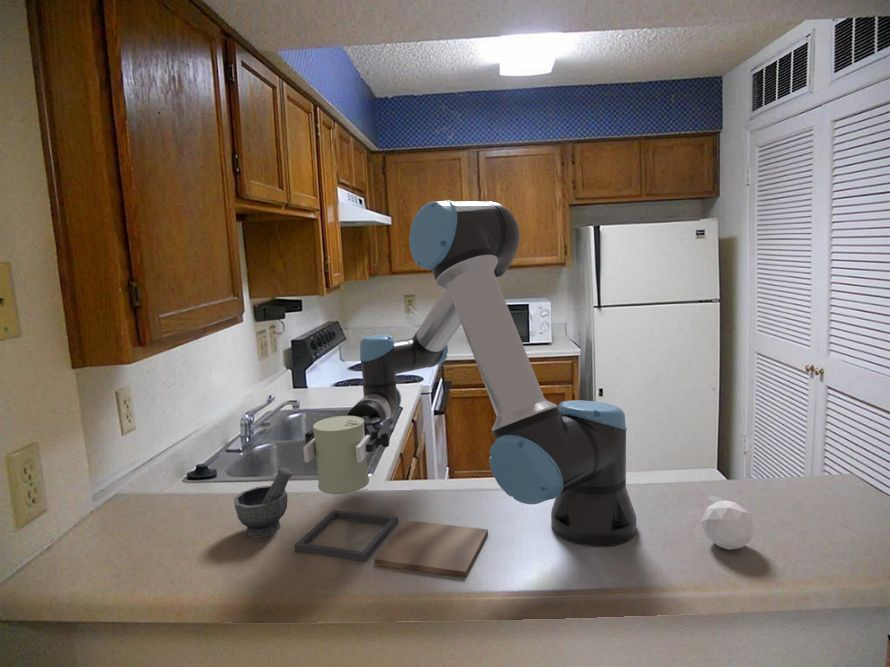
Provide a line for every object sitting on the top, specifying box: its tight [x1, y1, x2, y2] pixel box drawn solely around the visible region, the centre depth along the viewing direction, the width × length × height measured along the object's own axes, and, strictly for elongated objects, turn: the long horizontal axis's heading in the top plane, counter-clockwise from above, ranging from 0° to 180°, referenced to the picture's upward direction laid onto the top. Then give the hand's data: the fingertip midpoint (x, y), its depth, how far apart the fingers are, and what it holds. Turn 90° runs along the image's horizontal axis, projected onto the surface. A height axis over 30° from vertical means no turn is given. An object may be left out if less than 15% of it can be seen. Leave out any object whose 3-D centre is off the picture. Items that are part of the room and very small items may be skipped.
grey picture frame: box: [293, 509, 399, 562], centre depth 105 cm, size 14×14×1 cm
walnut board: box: [373, 519, 489, 578], centre depth 99 cm, size 16×14×1 cm
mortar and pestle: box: [233, 466, 293, 539], centre depth 109 cm, size 11×9×12 cm
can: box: [312, 415, 370, 495], centre depth 103 cm, size 9×9×12 cm
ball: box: [701, 500, 756, 551], centre depth 95 cm, size 8×8×8 cm
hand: (332, 454), depth 98 cm, fingers closed on can, 9 cm apart
